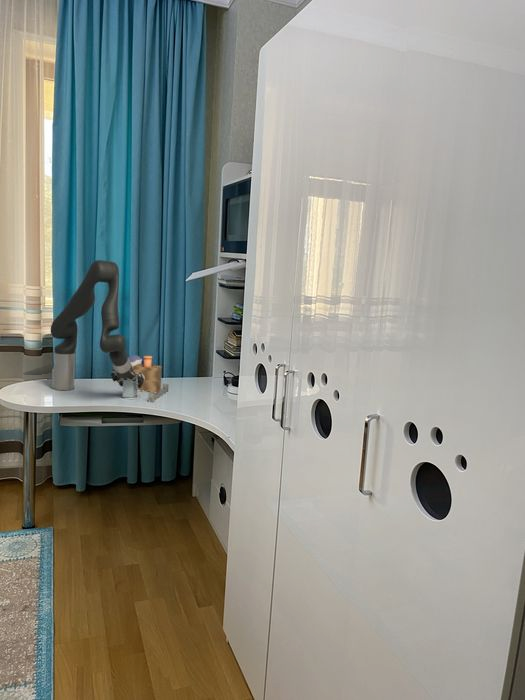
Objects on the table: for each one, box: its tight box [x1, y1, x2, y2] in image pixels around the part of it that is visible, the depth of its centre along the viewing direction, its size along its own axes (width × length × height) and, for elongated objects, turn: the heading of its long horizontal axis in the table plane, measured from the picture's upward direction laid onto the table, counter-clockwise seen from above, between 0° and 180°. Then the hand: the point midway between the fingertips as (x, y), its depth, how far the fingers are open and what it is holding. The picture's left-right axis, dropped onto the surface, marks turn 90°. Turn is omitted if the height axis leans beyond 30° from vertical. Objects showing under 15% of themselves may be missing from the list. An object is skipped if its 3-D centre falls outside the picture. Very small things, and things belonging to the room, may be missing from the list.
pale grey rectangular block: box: [121, 378, 138, 399], centre depth 274 cm, size 5×5×10 cm
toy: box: [128, 354, 144, 367], centre depth 300 cm, size 11×10×15 cm
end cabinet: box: [133, 364, 163, 393], centre depth 289 cm, size 12×8×12 cm, turn 81°
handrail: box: [147, 383, 169, 403], centre depth 279 cm, size 2×22×4 cm, turn 171°
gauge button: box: [143, 355, 153, 368], centre depth 289 cm, size 4×4×8 cm
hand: (131, 385), depth 275 cm, fingers open, 8 cm apart
